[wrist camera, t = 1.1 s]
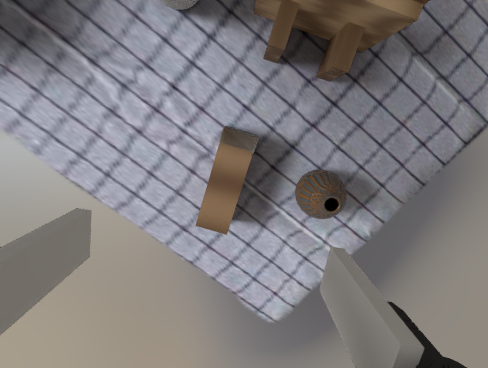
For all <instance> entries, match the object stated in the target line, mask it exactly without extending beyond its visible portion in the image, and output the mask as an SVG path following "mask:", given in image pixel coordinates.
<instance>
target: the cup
mask: <svg viewBox="0 0 488 368" xmlns="http://www.w3.org/2000/svg"><path fill="white" fill-rule="evenodd" d="M160 1H162V2H163V3H164V4H165V5H167V6H169V7H171V8H173V9H177V10H183V9H187V8H190V7H192V6H193V5H194V4H196V2H197V1H198V0H160Z"/></svg>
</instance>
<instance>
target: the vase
mask: <svg viewBox="0 0 488 368" xmlns="http://www.w3.org/2000/svg"><path fill="white" fill-rule="evenodd" d="M295 196H296V200H297V203H298V205H299V207H300V208H301V209H302V210H303V211H304V212H305V213H306V214H307V215H309V216H311V217H314V218H318V219H327V218H331V217H333V216H335V215H337V214H338V213H339V212H340V211H341V210H342V209H343V207H344V205H345V203H346V197H347V195H346V189H345V186H344V184H343V182H342V181H341V180H340V179H339V177H337V176H336V175H335V174H333V173H331V172H329V171H325V170H314V171H310V172H308V173H306V174H305V175H304V176H302V177H301V179H300V180H299V181H298V183H297V186H296V190H295Z"/></svg>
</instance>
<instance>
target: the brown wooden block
mask: <svg viewBox="0 0 488 368" xmlns="http://www.w3.org/2000/svg"><path fill="white" fill-rule="evenodd" d="M219 142H220V144H219V147H218V150H217V154H216V157H215V161H214V164H213V168H212V171H211V174H210V178H209V181H208V185H207V188H206V192H205V195H204V199H203V202H202V205H201V209H200V212H199V216H198V219H197V223H196V226H199V227H202V228H206V229H209V230H213V231H216V232H219V233H223V234H226V235H227V232H228V229H229V226H230V223H231V220H232V217H233V214H234V211H235V207H236V204H237V201H238V198H239V195H240V192H241V189H242V186H243V183H244V179H245V176H246V173H247V170H248V167H249V164H250V161H251V158H252V155H253V153H254V151H255V148H256V145H257V142H258V137H257V136H256V135H252V134H249V133H246V132H243V131H240V130H237V129H234V128H230V127H227V126H225V127H223V130H222V134H221V137H220V141H219Z"/></svg>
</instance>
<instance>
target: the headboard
mask: <svg viewBox="0 0 488 368" xmlns="http://www.w3.org/2000/svg"><path fill="white" fill-rule="evenodd" d="M428 1H430V0H256V1H255V10H254V14H257V15H259V16H262V17H265V18H268V19H271V20H273V21H275V22H274V25H273V29H272V32H271V35H270V39H269V42H268V45H267V48H266V52H265V55H264V58H263V59H266V60H269V61H272V62H275V63H277V62H278V60H279V59H280V57H281V55H282V54H283V52H284V50H285V47H286V44H287V41H288V38H289V35H290V32H291V29H292V27H293V28H296V29H299V30H301V31H304V32H307V33H310V34H313V35H315V36H318V37H321V38H324V39H327V40H329V42H328V45H327V48H326V50H325V53H324V56H323V59H322V62H321V65H320V67H319V70H318V73H317V76H316V77H318V78H321V79H324V80H327V81H331V80H333V79H335V78H337V77H339V76H342V75H344V74H346V73H348V72H349V69H350V66H351V64H352V61H353V59H354V56H355V53H356V51H360V52H363V51H365V50H367V49H368V48H370V47H372V46H373V45H375V44H377V43H379V42H380V41H382V40H384V39H386V38H387V37H389V36H391V35H392V34H394V33H396V32H398V31H399V30H401V29H403V28H404V27H406V26H408V25H410V24H411V23H413V22H415V21H416V20H418V17H419V15H420V12H421V10H422V8H423V5H424V4H425V3H427V2H428Z"/></svg>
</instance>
